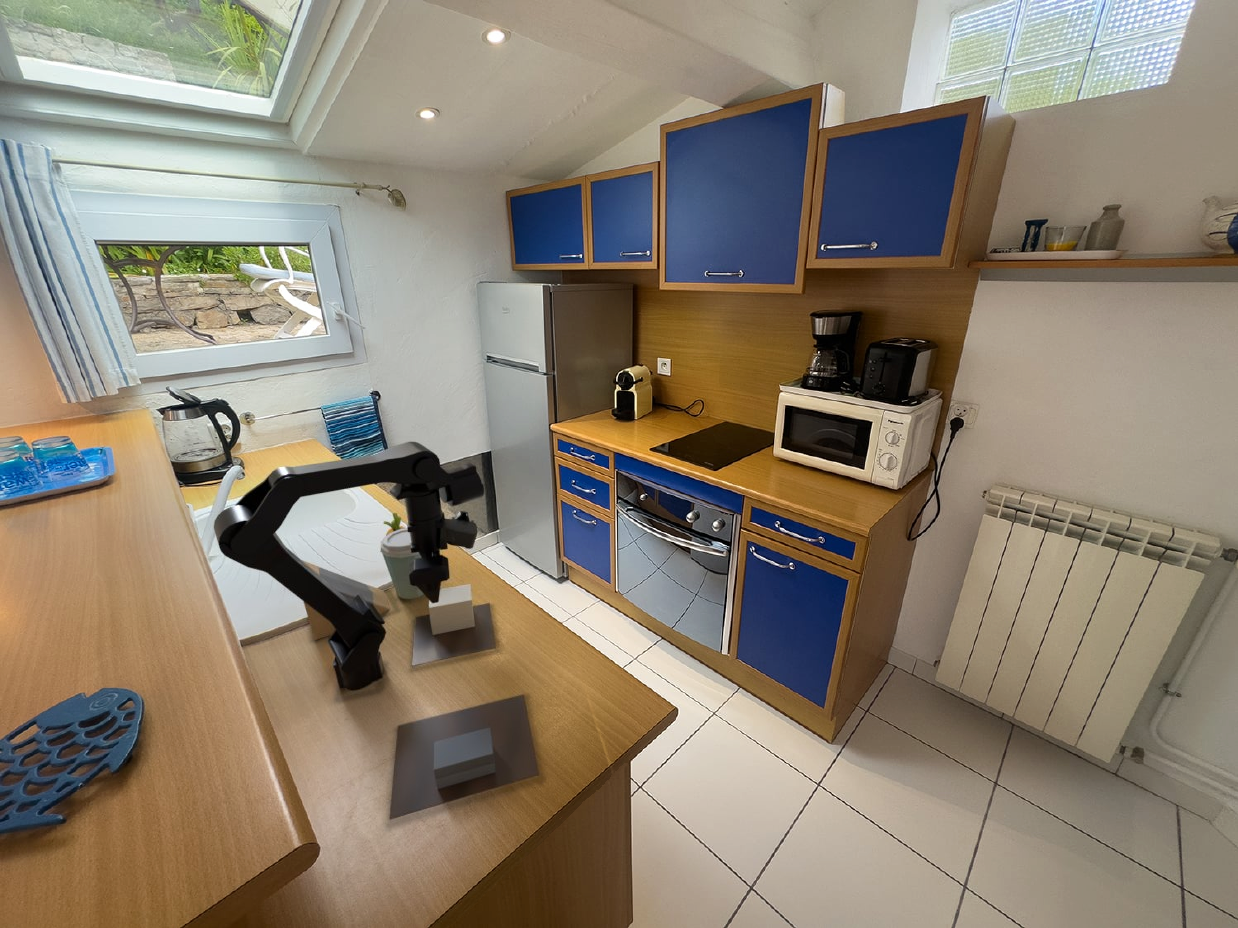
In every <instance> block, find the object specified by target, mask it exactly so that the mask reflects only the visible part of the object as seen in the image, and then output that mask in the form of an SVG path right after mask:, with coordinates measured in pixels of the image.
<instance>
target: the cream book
mask: <svg viewBox="0 0 1238 928" xmlns="http://www.w3.org/2000/svg"><path fill="white" fill-rule="evenodd" d="M473 604H474V603H473V595H472V586H471V583H468V584H461V585H456V586H451V587H445V588H440V594H439V602H437V603H431V601H430V600H429V599H428V611H429V614H430V617H433V616H438V615H444V614H449V613H454V612H459V611H464V610H470V609H473V606H474V605H473Z"/></svg>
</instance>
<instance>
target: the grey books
mask: <svg viewBox="0 0 1238 928" xmlns="http://www.w3.org/2000/svg"><path fill="white" fill-rule="evenodd" d="M492 773H495V763H494V754H493V745H492V736H491V728H486V729H482V730H478V731H474V732H471V733H467V734H463V735H459V736H455V737H452V738H448V739H444V740H440V741H436V742H434V775H435V780H436V785H437V789H440V788H444V787H447V786H450V785H454V784H457V783H461V782H464V781H468V780H471V779H475V778H478V777H481V776H485V775H488V774H492Z"/></svg>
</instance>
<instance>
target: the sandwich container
mask: <svg viewBox="0 0 1238 928" xmlns="http://www.w3.org/2000/svg"><path fill="white" fill-rule="evenodd" d="M301 560H302V561H303V562H304V563H305V564H307V565H308V566H309V567H310V568H311V569H313V570H314V571H315V572H316V573H317V574H318V575H320V576H321V577H322V578H323V579H324V580H325V581H327V582H328V583H329V584H330V585H331V586H333V587H334V588H335V589H336V590H337V591H338V592H340V593H341V594H342V595H343V596H345V597H347V598H350V599H354V598H355V597H356V596H357V595H358V594H359V593H360V594H361V596H362V597H363V599H364V600H365V601H367V602H368V603H372V604H373V605H374V607H375V608H376V610H377V611H378V613H379V614H380V615H381V614H383V613H385V612H388V611H390V610H391V604H390V601H389V599H388V596H387V595H386V593H385V591H384V590H383V589H381V588H377V587H374V586H371V585H370V584H366V583H363V582H361V581H358V580H355V579H353V578H350V577H347V576H345V575H342V574H340V573H337V572H334V571H331V570H328V569H326V568H323V567H320V566H318V565H315V564H313V563H311V562H308V561H305V560H303V559H301ZM302 601H303V600H302ZM303 604H304V608H305V612H306V616H307V619H308V623H309V627H310V629H311V633H312V636H313V640H314V641H317V640H321V639H324V638H326V637H330V636H331V635H332V633H333V632H334V631H335V628H334V626H333V625H332V624H331V622H329V621H328V620H327V619H326V618H324V617H323V616H322V615H320V614H319V613H318V612H317V611H315V610H314V609H313V608H311V607H310V606H309V605H308V604H306V603H305V602H304V601H303Z"/></svg>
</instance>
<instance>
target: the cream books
mask: <svg viewBox="0 0 1238 928" xmlns="http://www.w3.org/2000/svg"><path fill="white" fill-rule="evenodd" d="M430 621H431V627H432V633H433V635H435V634H440V633H445V632H450V631H455V630H460V629H465V628H470V627H474V626H475V625H474V614H473V609H470V610H464V611H459V612H454V613H449V614H444V615H438V616H433V617H430Z"/></svg>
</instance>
